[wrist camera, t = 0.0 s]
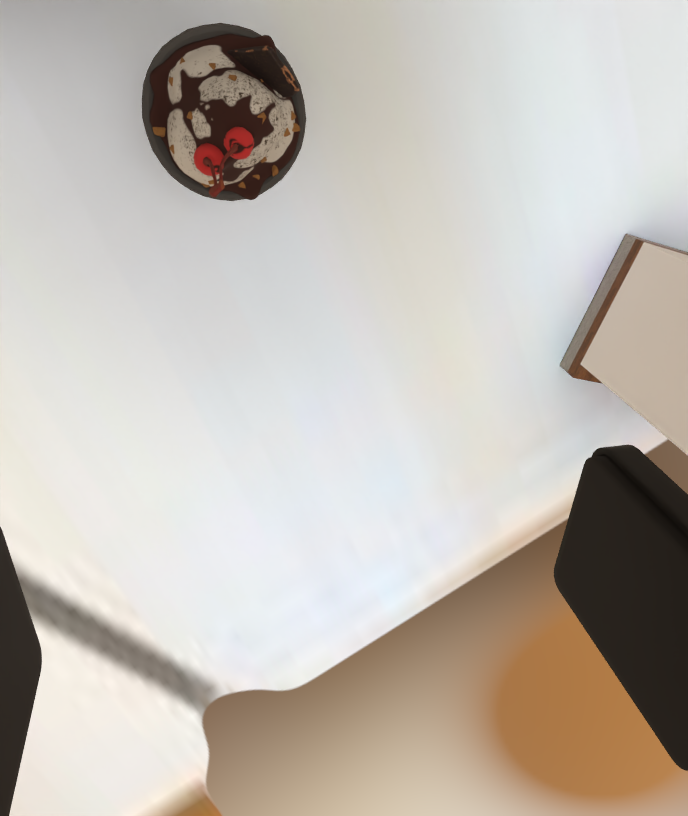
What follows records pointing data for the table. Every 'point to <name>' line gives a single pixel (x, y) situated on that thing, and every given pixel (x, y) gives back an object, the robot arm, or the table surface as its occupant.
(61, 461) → the table surface
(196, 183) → the sundae
